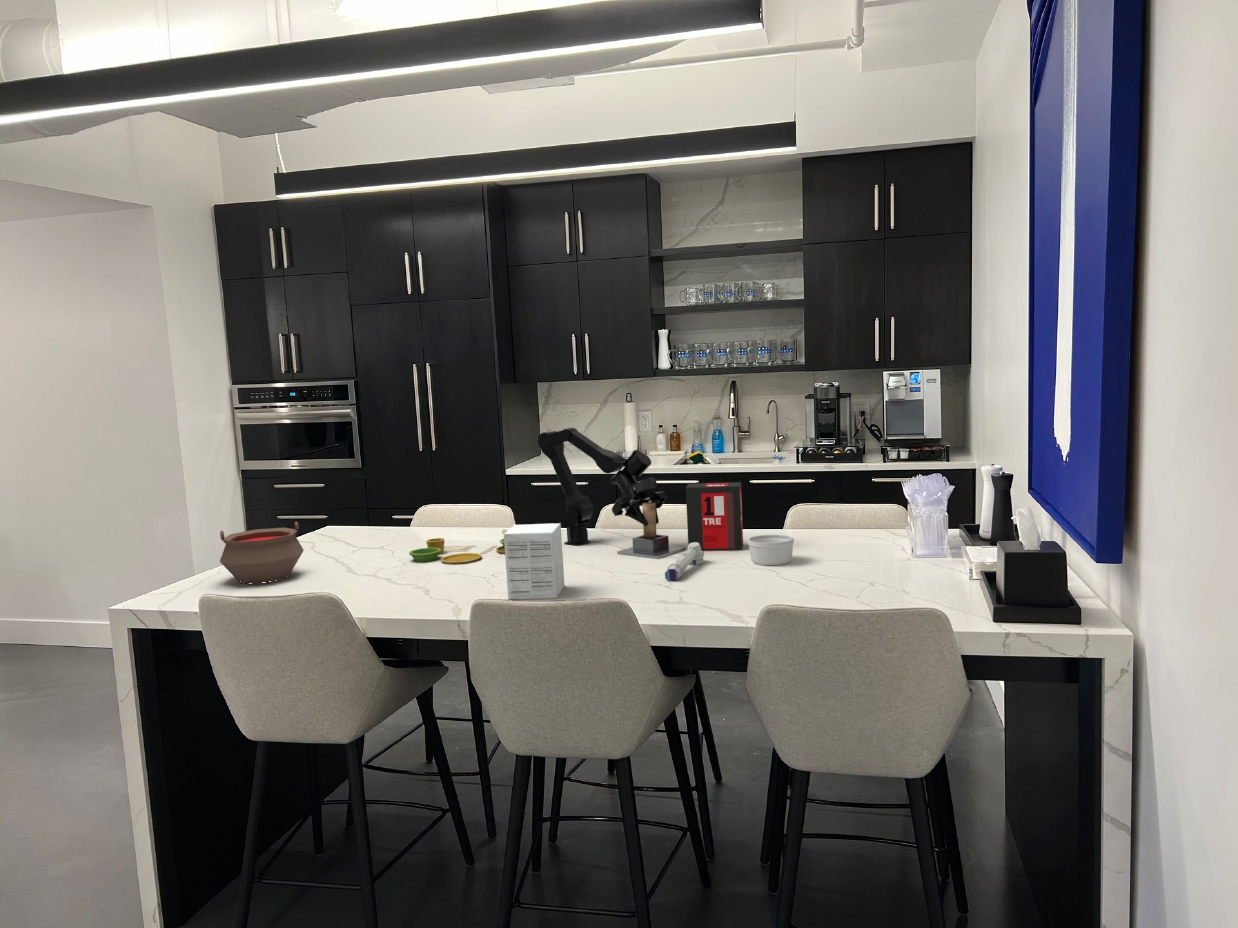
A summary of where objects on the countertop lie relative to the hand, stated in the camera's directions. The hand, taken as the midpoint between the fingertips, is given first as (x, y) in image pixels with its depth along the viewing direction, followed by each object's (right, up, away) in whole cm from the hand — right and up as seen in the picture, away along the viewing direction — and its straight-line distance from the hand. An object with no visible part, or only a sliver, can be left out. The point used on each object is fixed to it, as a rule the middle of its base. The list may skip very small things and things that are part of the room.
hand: (652, 524), depth 286 cm
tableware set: (-55, -11, +12) cm, 58 cm away
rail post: (-1, -7, +2) cm, 7 cm away
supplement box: (-32, -16, -41) cm, 55 cm away
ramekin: (+34, -10, -19) cm, 40 cm away
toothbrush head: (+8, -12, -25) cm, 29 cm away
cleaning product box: (+20, -8, +3) cm, 22 cm away
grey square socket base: (0, -9, +2) cm, 9 cm away
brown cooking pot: (-118, -16, -7) cm, 119 cm away
